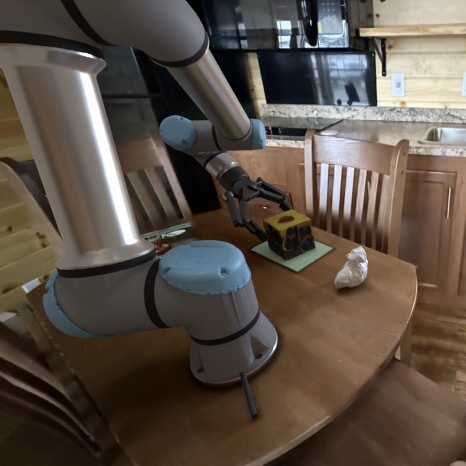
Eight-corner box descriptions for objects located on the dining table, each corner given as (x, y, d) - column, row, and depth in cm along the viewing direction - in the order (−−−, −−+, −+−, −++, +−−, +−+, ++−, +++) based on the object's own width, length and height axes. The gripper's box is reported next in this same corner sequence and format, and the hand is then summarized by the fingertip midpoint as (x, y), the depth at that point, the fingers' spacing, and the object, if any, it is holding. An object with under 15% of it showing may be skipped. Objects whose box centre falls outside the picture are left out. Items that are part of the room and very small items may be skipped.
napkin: (333, 248, 95) (333, 248, 95) (297, 272, 85) (297, 271, 84) (288, 231, 104) (288, 230, 104) (250, 250, 94) (250, 249, 94)
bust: (341, 302, 78) (363, 281, 71) (320, 280, 78) (340, 257, 71) (367, 276, 87) (389, 255, 80) (348, 256, 87) (368, 234, 80)
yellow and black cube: (316, 248, 95) (312, 218, 90) (286, 262, 88) (279, 231, 83) (298, 236, 100) (293, 208, 96) (268, 248, 94) (261, 219, 89)
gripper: (254, 168, 101) (301, 217, 104) (185, 196, 81) (245, 257, 84) (265, 153, 97) (312, 205, 100) (194, 179, 76) (257, 243, 79)
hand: (282, 229), depth 92 cm, fingers open, 13 cm apart
